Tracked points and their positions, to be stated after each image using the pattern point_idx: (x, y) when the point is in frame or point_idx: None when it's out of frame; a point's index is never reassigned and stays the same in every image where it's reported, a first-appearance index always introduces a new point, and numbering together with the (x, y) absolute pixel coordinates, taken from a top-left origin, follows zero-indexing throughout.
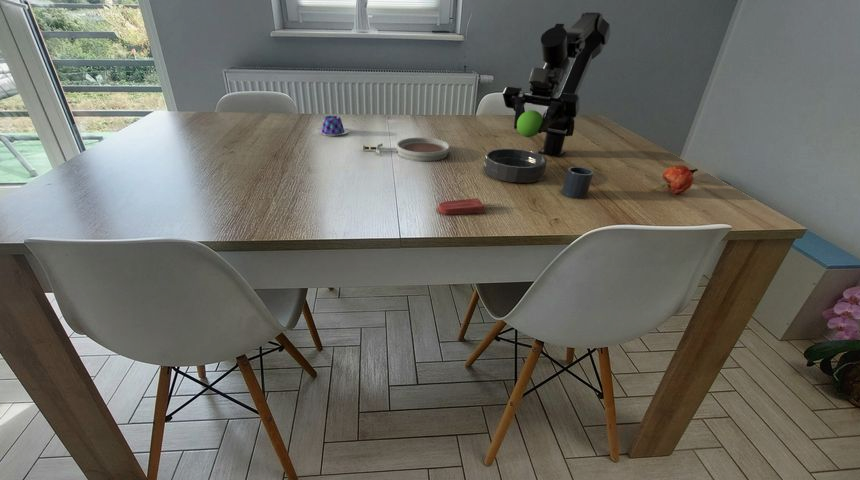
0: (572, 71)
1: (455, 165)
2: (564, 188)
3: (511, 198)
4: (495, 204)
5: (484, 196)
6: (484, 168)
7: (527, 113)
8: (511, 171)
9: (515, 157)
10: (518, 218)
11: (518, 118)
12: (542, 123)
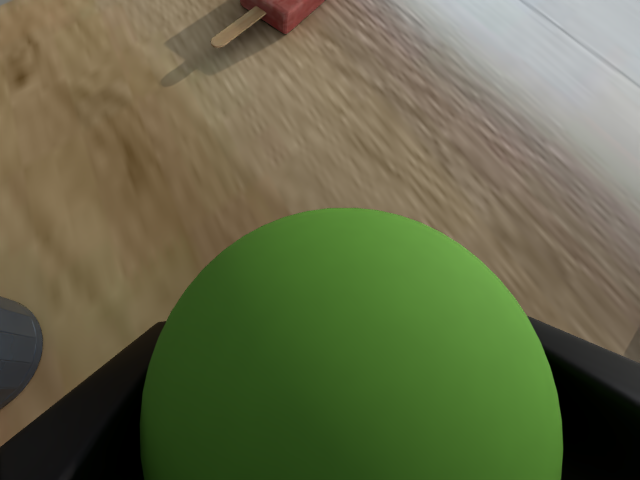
0: None
1: (598, 307)
2: (13, 307)
3: (217, 138)
4: (225, 30)
5: (302, 100)
6: None
7: (413, 255)
8: None
9: None
10: (136, 26)
11: None
12: (132, 374)
